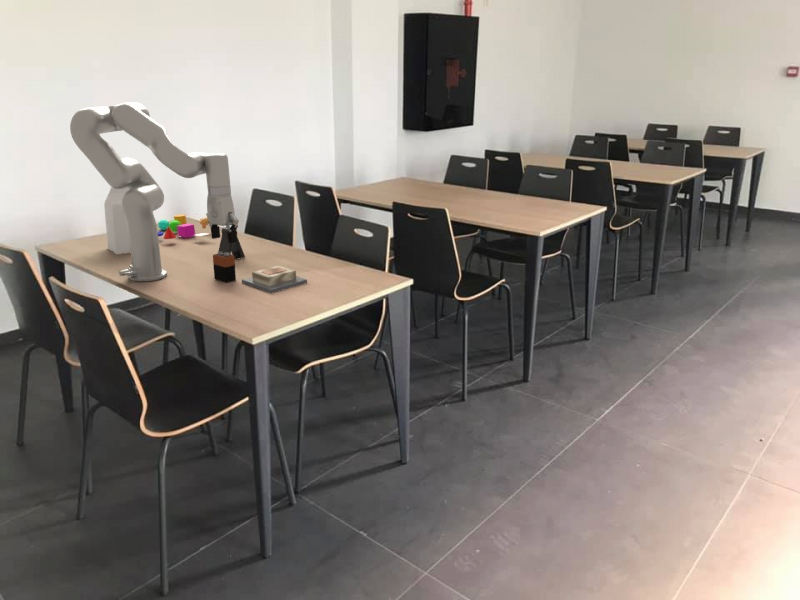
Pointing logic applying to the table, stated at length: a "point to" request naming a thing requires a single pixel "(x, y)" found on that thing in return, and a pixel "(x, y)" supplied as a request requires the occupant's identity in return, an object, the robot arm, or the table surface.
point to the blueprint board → (277, 286)
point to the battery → (224, 267)
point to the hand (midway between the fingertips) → (224, 240)
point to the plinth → (274, 275)
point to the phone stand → (230, 245)
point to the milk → (116, 222)
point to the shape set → (180, 227)
